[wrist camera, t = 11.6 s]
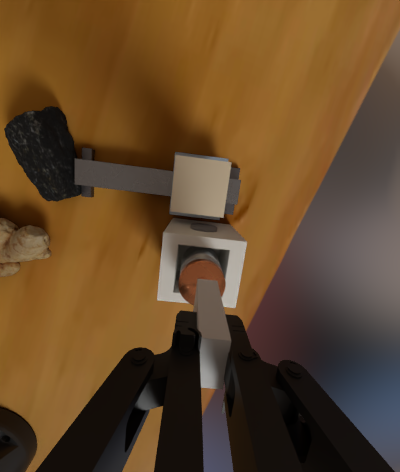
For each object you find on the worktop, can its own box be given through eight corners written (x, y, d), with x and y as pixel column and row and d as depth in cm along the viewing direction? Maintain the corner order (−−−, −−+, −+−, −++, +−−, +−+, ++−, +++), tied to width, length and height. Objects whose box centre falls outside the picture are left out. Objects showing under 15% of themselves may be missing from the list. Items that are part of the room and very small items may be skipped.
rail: (84, 195, 29) (74, 196, 27) (85, 148, 28) (74, 145, 26) (231, 213, 31) (235, 216, 28) (238, 169, 29) (242, 167, 27)
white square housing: (168, 265, 32) (157, 300, 22) (173, 214, 30) (163, 228, 21) (222, 271, 32) (235, 307, 23) (230, 221, 31) (247, 237, 21)
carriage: (172, 210, 30) (157, 227, 17) (177, 156, 28) (165, 132, 16) (216, 215, 30) (231, 236, 18) (223, 162, 29) (246, 144, 16)
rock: (43, 205, 30) (8, 209, 24) (12, 125, 28) (-35, 109, 22) (93, 193, 30) (69, 195, 24) (66, 112, 27) (33, 92, 22)
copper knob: (180, 276, 25) (176, 304, 19) (184, 242, 24) (181, 260, 18) (215, 280, 25) (222, 308, 19) (220, 246, 24) (228, 265, 18)
